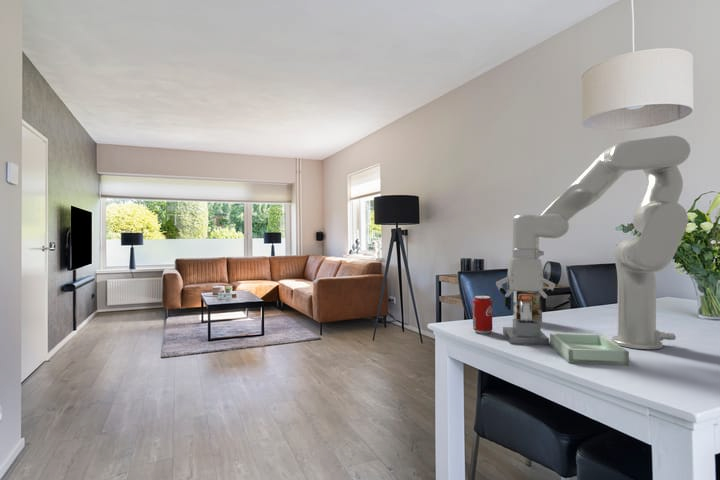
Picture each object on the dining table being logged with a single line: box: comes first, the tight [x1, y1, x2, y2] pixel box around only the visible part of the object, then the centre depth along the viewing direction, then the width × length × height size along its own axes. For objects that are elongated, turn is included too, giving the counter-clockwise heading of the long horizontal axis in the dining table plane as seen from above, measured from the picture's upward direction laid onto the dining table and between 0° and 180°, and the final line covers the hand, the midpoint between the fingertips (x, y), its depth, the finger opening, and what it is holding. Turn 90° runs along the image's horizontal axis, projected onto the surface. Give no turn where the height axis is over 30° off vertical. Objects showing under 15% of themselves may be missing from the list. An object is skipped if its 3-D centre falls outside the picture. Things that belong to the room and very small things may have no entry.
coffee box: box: [512, 291, 543, 325], centre depth 157 cm, size 9×6×16 cm
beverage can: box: [472, 295, 493, 335], centre depth 142 cm, size 6×6×12 cm
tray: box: [549, 332, 630, 366], centre depth 115 cm, size 14×18×4 cm
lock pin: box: [518, 294, 534, 323], centre depth 130 cm, size 4×4×12 cm
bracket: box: [502, 318, 550, 346], centre depth 133 cm, size 11×14×6 cm
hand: (524, 309), depth 130 cm, fingers open, 9 cm apart
